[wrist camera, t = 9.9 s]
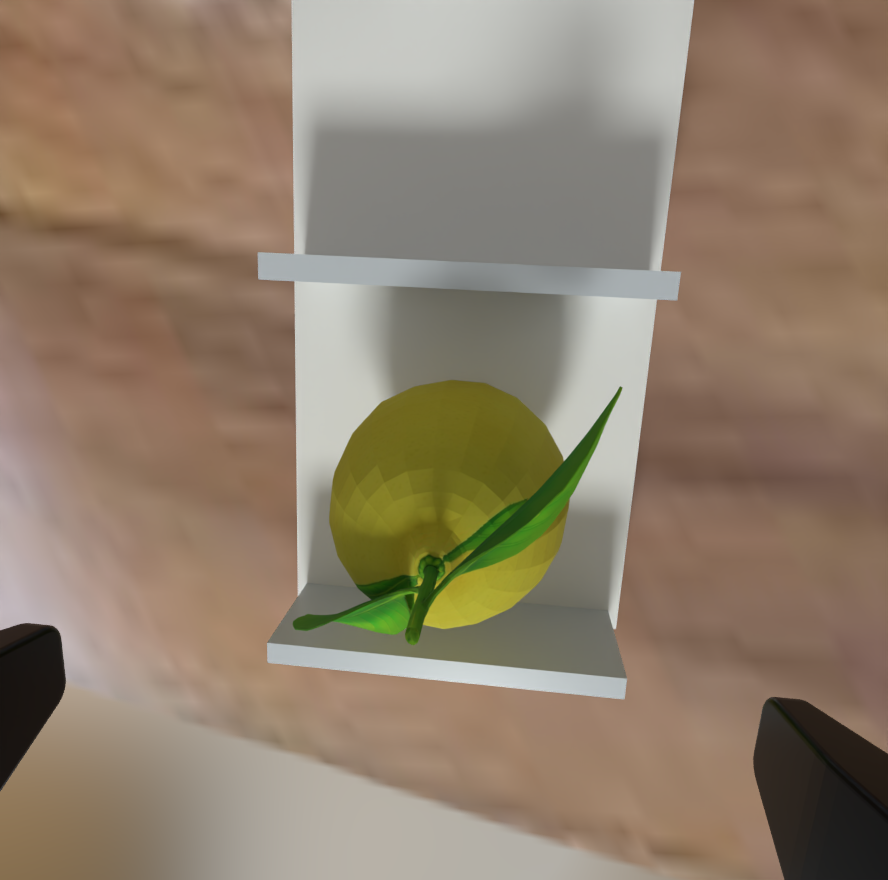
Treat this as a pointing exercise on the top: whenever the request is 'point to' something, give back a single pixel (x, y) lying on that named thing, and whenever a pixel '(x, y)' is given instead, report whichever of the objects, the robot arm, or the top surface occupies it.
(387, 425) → the lemon
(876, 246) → the top surface
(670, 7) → the white divided tray
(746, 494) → the top surface
